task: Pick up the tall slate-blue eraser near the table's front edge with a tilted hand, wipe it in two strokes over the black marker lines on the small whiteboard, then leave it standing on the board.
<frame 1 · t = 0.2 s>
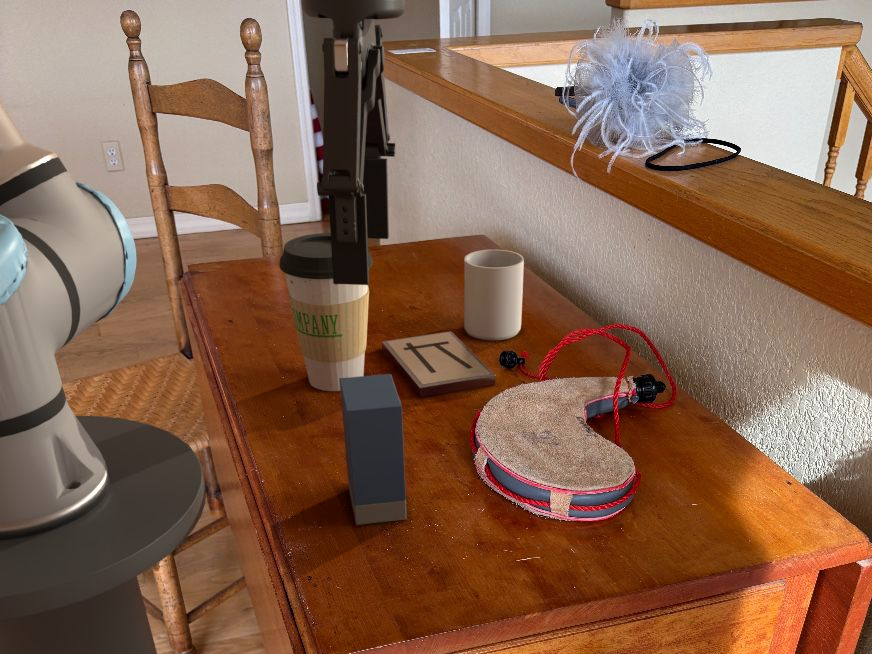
hand: (363, 259, 78), 20 cm above the table, tool pointing down, fingers open, 13 cm apart
eraser: (376, 503, 85), on the table
cup: (488, 328, 119), on the table
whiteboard: (436, 367, 109), on the table
coffee cup: (336, 381, 106), on the table
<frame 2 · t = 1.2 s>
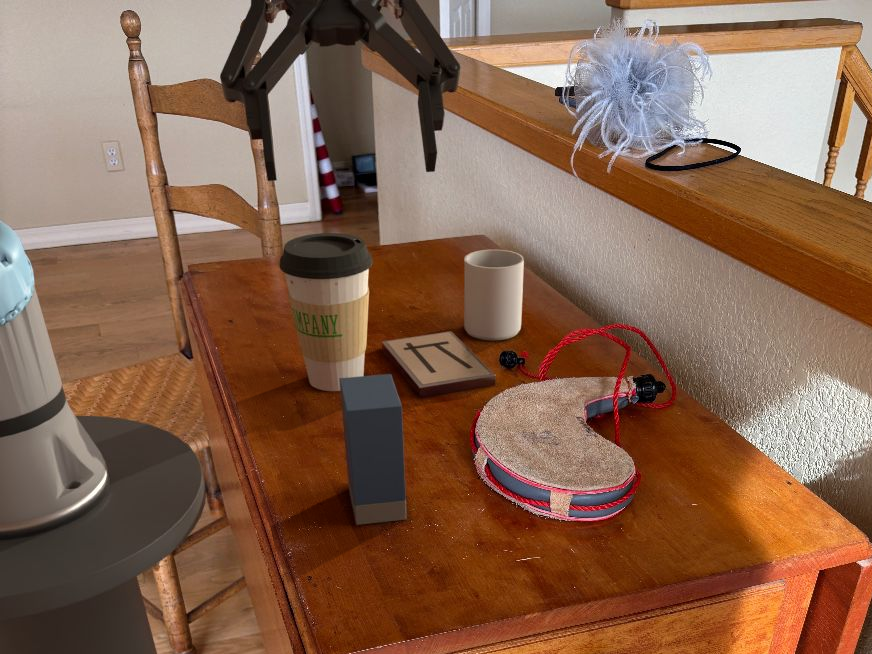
hand: (352, 167, 78), 26 cm above the table, tool tilted 45°, fingers open, 13 cm apart
nothing on the table moved.
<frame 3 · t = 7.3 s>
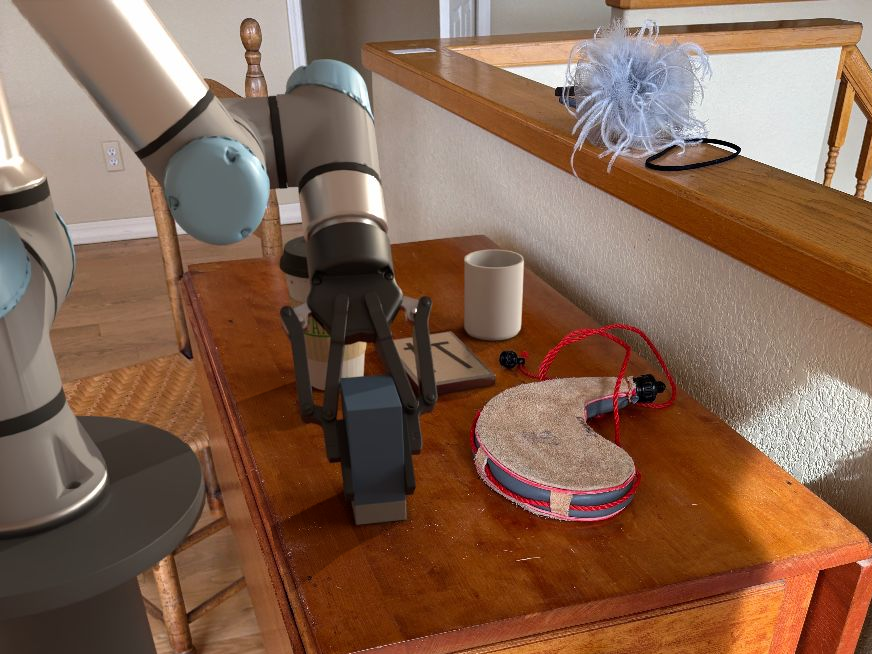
hand: (380, 493, 80), 3 cm above the table, tool tilted 45°, fingers closed on eraser, 4 cm apart
eraser: (376, 503, 85), on the table, touching gripper
everything else where it was.
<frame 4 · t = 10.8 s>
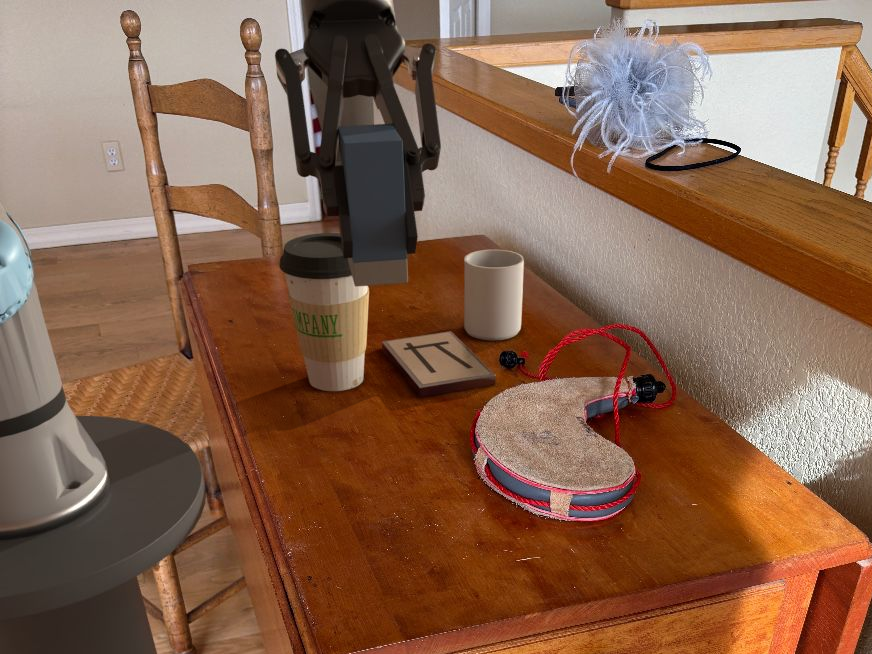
hand: (380, 247, 75), 21 cm above the table, tool tilted 45°, fingers closed on eraser, 4 cm apart
eraser: (377, 272, 80), point 18 cm above the table, touching gripper
everything else where it was.
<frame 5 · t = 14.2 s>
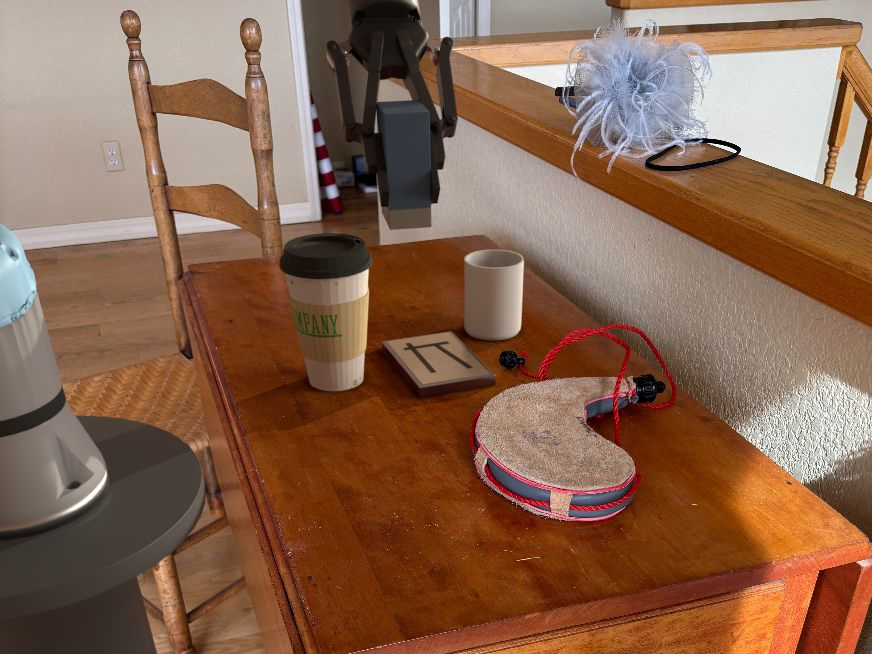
hand: (410, 197, 96), 19 cm above the table, tool tilted 45°, fingers closed on eraser, 4 cm apart
eraser: (406, 220, 100), point 16 cm above the table, touching gripper
everything else where it was.
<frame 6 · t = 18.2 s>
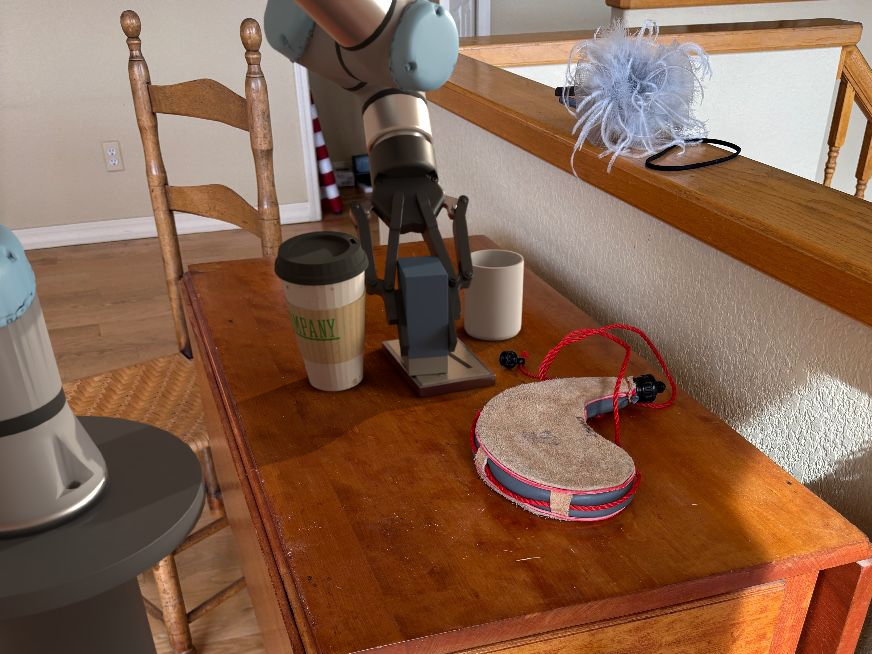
hand: (429, 348, 101), 5 cm above the table, tool tilted 45°, fingers closed on eraser, 4 cm apart
eraser: (423, 362, 106), point 1 cm above the table, touching gripper
when the fingers open (5 cm above the table, at t = 21.2 s): eraser stays where it is, resting on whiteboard.
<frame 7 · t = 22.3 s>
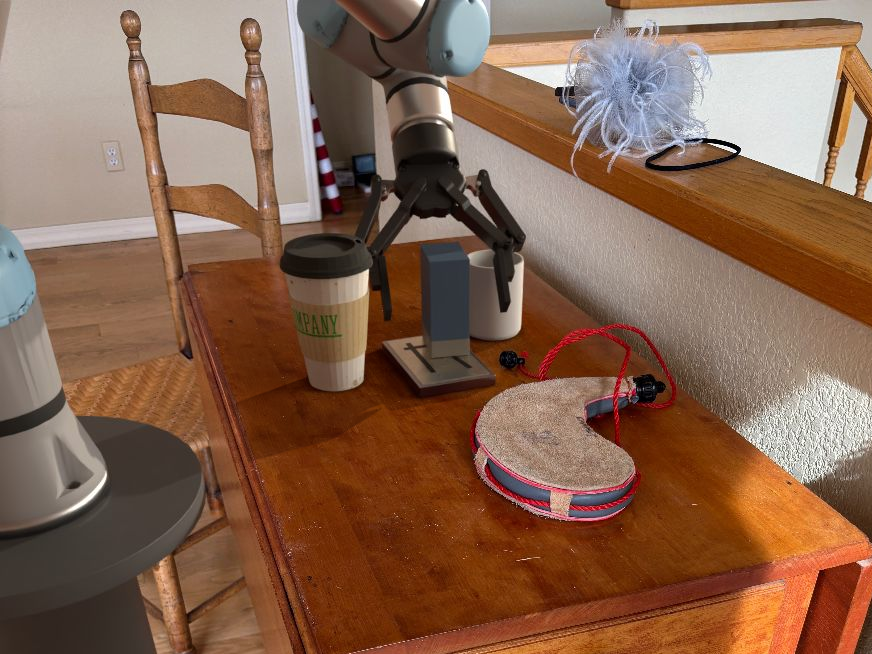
hand: (447, 311, 106), 6 cm above the table, tool tilted 45°, fingers open, 13 cm apart
eraser: (445, 346, 110), point 1 cm above the table, touching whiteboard
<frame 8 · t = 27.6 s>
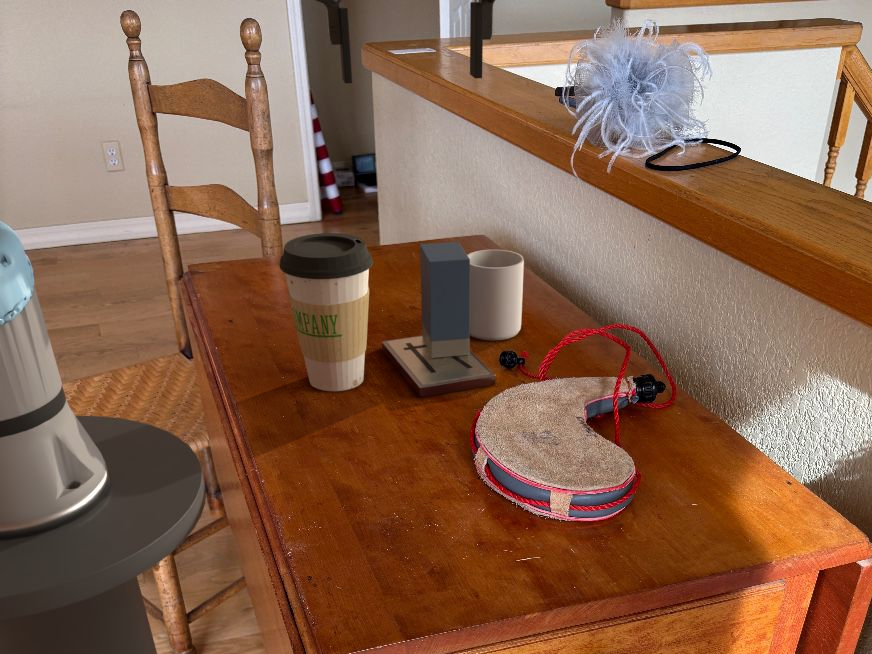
hand: (412, 79, 97), 29 cm above the table, tool pointing down, fingers open, 13 cm apart
nothing on the table moved.
at the end: eraser inside the target area on the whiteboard (3.2 cm from its centre), point 1.3 cm above the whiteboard's base; eraser tilted 0°; eraser moved 33.9 cm from its start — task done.
